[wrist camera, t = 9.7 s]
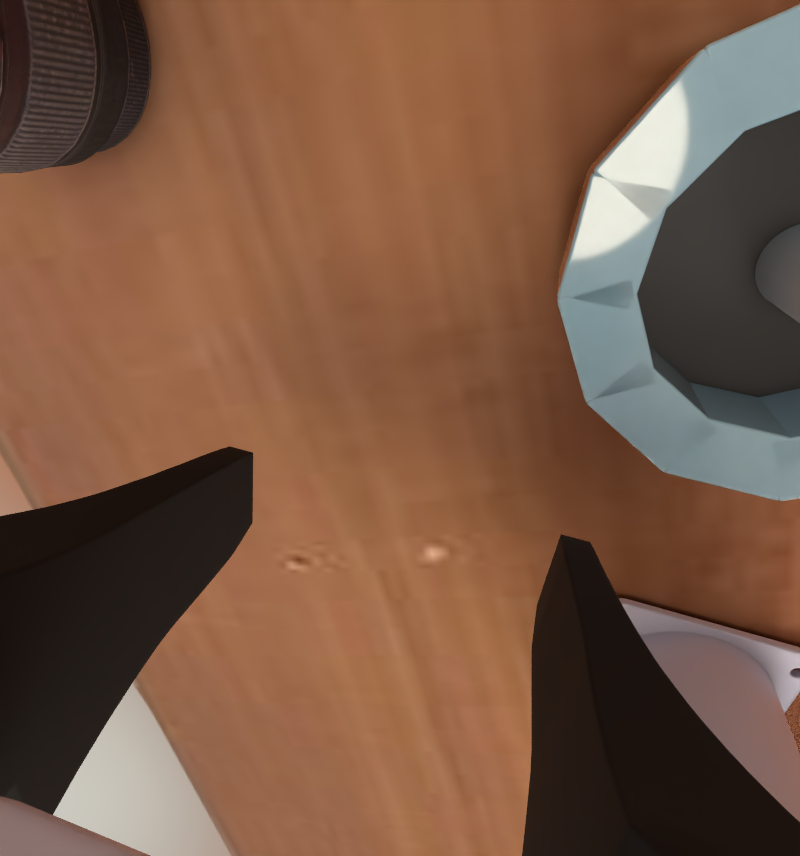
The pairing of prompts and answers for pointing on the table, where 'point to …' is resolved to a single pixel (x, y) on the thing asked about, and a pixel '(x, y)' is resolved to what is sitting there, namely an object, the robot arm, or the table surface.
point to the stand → (732, 268)
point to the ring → (630, 252)
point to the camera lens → (69, 79)
